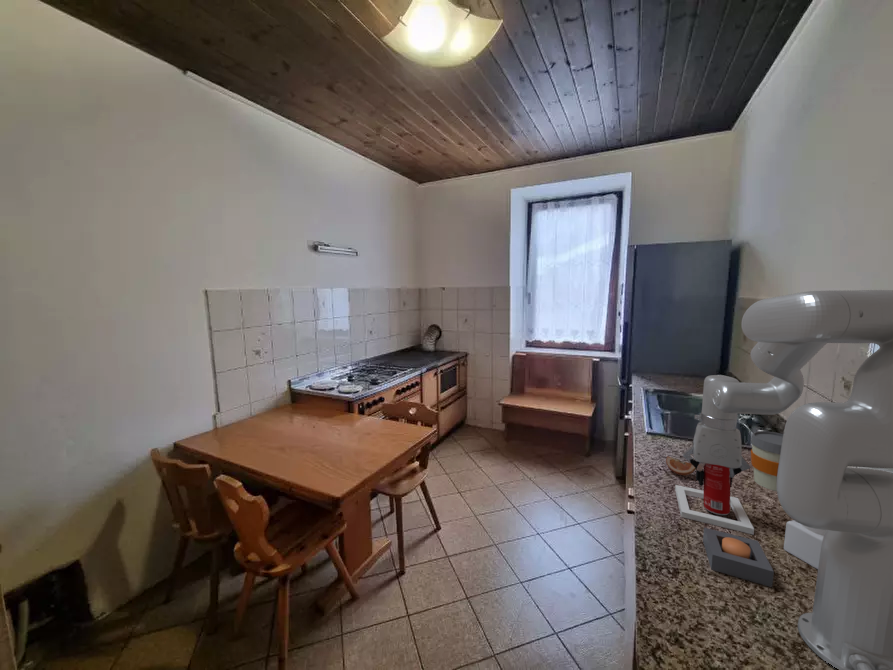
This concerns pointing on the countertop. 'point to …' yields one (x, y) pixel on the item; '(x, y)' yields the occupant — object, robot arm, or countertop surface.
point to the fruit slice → (679, 466)
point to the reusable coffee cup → (766, 457)
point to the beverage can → (717, 489)
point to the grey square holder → (738, 559)
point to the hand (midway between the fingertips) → (712, 485)
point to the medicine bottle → (804, 542)
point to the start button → (735, 547)
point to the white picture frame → (740, 525)
